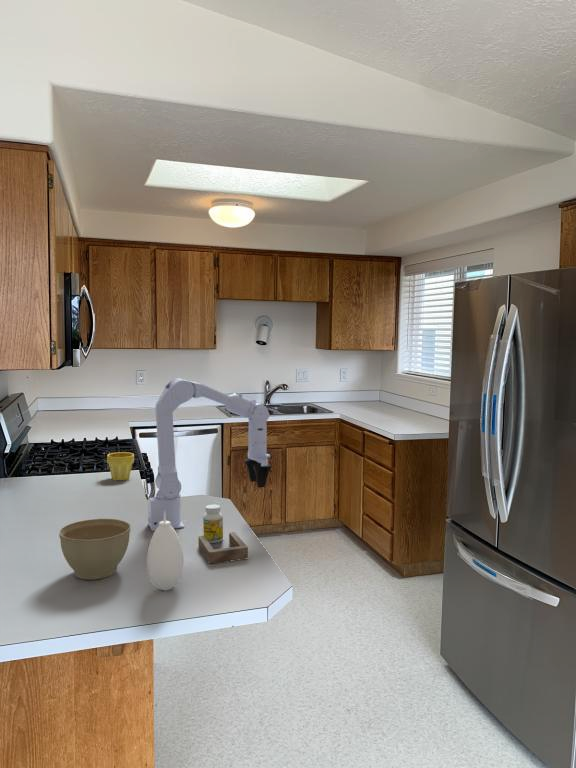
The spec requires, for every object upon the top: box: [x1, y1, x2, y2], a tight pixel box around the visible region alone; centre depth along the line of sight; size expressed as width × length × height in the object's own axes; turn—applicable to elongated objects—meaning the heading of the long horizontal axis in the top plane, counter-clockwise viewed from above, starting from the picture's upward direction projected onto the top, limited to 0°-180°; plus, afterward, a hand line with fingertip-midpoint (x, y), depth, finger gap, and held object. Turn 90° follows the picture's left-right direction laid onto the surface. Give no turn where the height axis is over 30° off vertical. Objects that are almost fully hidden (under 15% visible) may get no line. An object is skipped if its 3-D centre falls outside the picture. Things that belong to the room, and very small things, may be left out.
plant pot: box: [106, 451, 135, 481], centre depth 230 cm, size 10×10×10 cm
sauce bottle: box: [146, 510, 184, 592], centre depth 130 cm, size 8×8×18 cm
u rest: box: [198, 531, 249, 565], centre depth 152 cm, size 10×12×3 cm
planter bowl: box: [58, 518, 131, 580], centre depth 139 cm, size 16×16×11 cm
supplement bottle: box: [202, 504, 224, 544], centre depth 161 cm, size 5×5×10 cm
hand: (257, 484), depth 183 cm, fingers open, 7 cm apart
